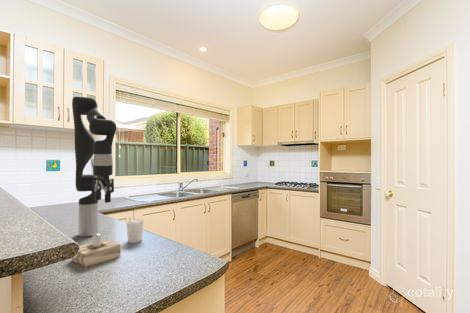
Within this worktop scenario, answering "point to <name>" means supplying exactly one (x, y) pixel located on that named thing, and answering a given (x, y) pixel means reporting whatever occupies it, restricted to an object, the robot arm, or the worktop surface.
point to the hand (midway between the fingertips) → (102, 201)
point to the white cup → (134, 230)
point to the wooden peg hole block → (97, 253)
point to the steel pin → (96, 240)
